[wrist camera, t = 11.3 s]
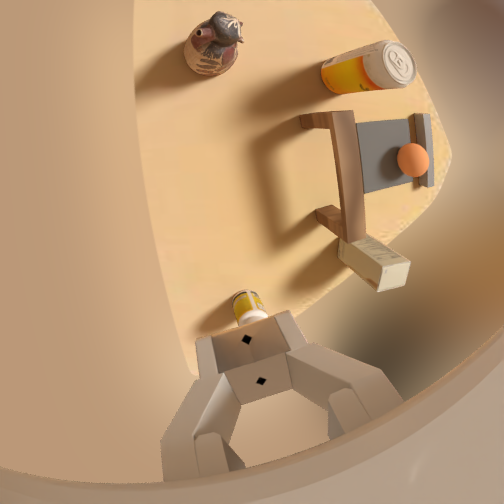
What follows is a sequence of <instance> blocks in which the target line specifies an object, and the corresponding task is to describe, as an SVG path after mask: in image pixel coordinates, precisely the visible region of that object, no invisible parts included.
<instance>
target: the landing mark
mask: <svg viewBox="0 0 504 504" xmlns="http://www.w3.org/2000/svg"><path fill="white" fill-rule="evenodd" d="M356 128H357V135H358V142H359V149H360V158H361V166H362V176H363V187H364V194H365V193H369V192H373V191H377V190H381V189H385V188H389V187H392V186H396V185H400V184H405V183H409V182H413V177H411V176H408V175H406V174H405V173H403V172H402V171H401V169H400V168H399V165H398V162H397V155H398V152H399V150H400V148H401V147H402V146H404V145H405V144H408V143H411V140H410V131H409V122H408V119H398V120H385V121H374V122H364V123H356Z"/></svg>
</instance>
